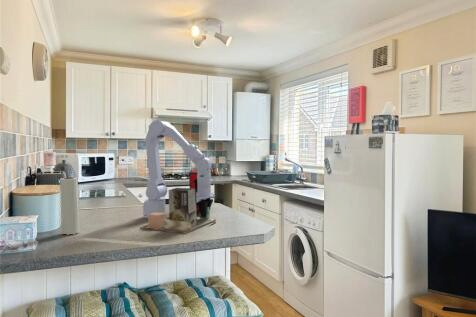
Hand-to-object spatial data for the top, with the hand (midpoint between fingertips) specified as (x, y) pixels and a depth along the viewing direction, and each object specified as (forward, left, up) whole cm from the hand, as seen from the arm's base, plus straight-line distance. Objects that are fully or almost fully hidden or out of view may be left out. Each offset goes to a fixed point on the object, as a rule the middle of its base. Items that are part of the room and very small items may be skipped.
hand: (204, 216), depth 149 cm
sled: (0, -10, -2) cm, 10 cm away
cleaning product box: (-15, +19, -2) cm, 24 cm away
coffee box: (0, -16, -2) cm, 16 cm away
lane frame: (-4, -13, -2) cm, 14 cm away
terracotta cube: (-10, -19, -1) cm, 22 cm away
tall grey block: (-37, -37, -2) cm, 52 cm away
